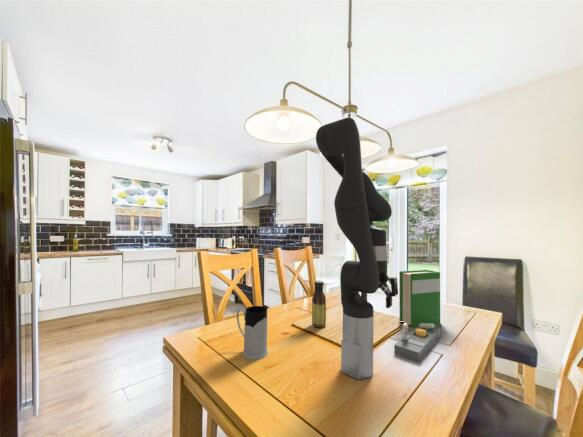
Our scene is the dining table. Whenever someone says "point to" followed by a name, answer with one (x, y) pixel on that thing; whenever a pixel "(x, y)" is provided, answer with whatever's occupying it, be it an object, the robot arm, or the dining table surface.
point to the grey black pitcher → (254, 332)
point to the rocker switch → (426, 325)
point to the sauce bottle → (318, 306)
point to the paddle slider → (405, 331)
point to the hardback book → (420, 297)
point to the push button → (421, 333)
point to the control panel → (417, 344)
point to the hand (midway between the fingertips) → (376, 304)
